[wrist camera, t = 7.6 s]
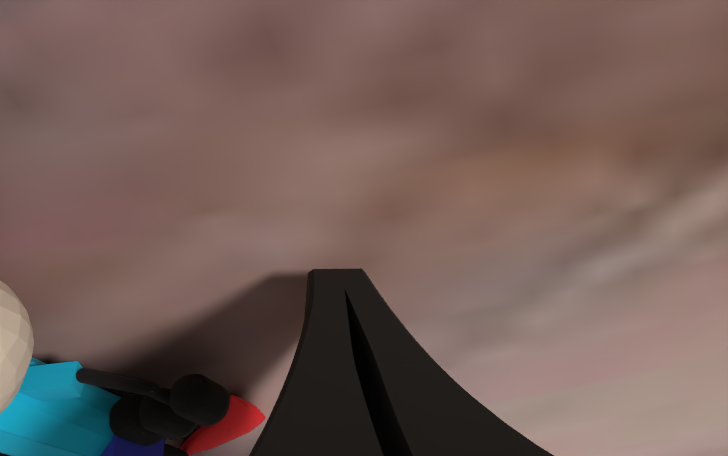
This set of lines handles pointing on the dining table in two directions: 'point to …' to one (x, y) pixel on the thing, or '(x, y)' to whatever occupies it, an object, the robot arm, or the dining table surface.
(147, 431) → the toy figure
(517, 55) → the dining table surface
